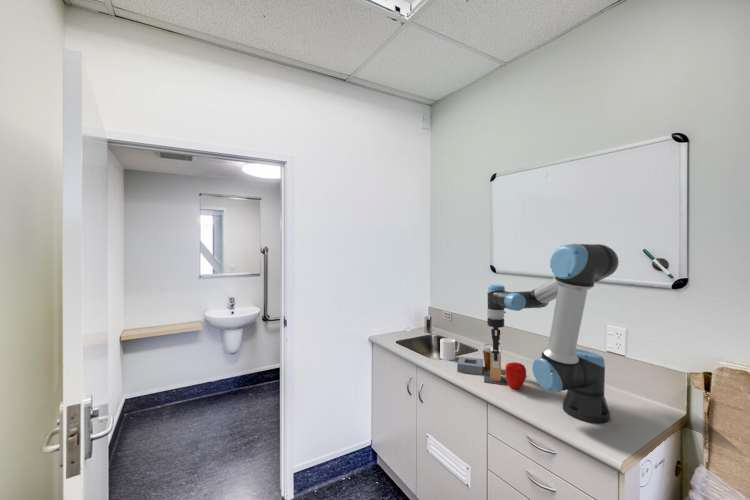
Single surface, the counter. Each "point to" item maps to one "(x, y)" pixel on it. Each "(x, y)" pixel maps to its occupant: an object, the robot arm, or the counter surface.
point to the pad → (503, 381)
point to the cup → (448, 348)
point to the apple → (515, 374)
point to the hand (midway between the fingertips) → (495, 362)
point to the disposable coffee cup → (487, 355)
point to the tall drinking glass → (495, 372)
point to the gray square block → (470, 365)
